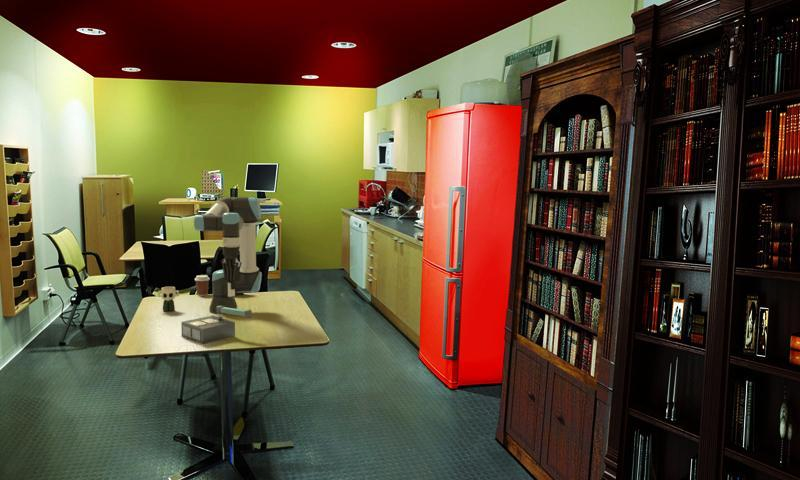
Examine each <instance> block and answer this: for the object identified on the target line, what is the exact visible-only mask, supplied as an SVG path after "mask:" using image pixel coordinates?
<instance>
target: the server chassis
mask: <svg viewBox="0 0 800 480" xmlns="http://www.w3.org/2000/svg"><path fill="white" fill-rule="evenodd" d="M223 317H224V315H223V313H217V316H216V315H209V316H204V317H200V318H193V319H189V320H184V321H181V337H182V338H185V339H189V340H191V341H193V342H197V343H200V344H202V345H205V344H208V343H213V342H219V341H221V340H226V339H230V338H233V337H234V338H235V337H236V322H235V321H232V320H229V319H227V318H226V319H225V318H223Z"/></svg>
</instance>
